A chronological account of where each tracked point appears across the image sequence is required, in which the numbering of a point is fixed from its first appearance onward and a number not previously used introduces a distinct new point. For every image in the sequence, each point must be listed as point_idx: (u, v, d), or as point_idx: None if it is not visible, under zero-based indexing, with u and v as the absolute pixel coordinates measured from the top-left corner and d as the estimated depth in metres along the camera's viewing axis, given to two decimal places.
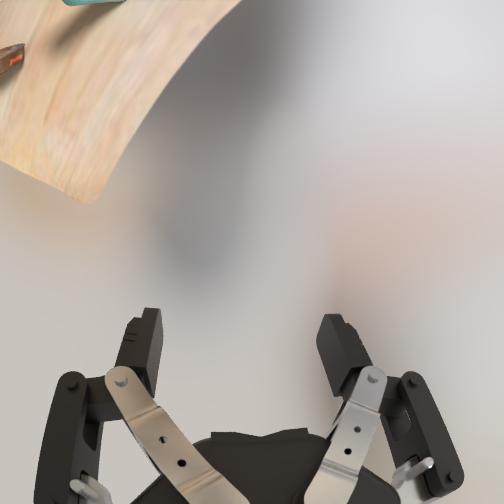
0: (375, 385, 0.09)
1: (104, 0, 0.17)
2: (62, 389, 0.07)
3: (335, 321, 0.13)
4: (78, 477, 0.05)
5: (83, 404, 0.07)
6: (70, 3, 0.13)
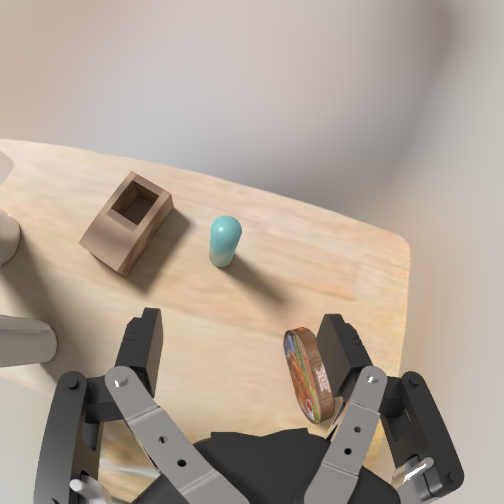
0: (375, 385, 0.09)
1: None
2: (62, 389, 0.07)
3: (335, 321, 0.13)
4: (78, 477, 0.05)
5: (83, 404, 0.07)
6: (239, 231, 0.34)
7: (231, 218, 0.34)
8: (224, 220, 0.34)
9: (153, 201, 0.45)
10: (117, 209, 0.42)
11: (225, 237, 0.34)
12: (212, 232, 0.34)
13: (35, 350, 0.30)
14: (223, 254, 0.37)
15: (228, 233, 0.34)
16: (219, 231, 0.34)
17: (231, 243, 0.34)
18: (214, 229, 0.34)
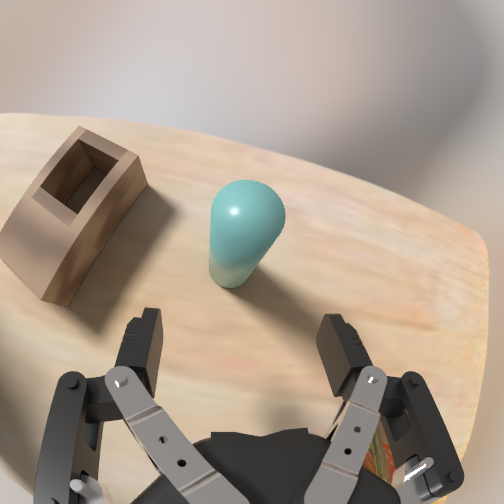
0: (375, 385, 0.09)
1: None
2: (62, 389, 0.07)
3: (335, 321, 0.13)
4: (78, 477, 0.05)
5: (83, 404, 0.07)
6: (280, 216, 0.14)
7: (259, 185, 0.14)
8: (243, 190, 0.14)
9: None
10: (54, 190, 0.22)
11: (247, 230, 0.14)
12: (214, 218, 0.13)
13: None
14: (238, 268, 0.17)
15: (254, 220, 0.14)
16: (232, 215, 0.14)
17: (262, 244, 0.14)
18: (219, 209, 0.14)
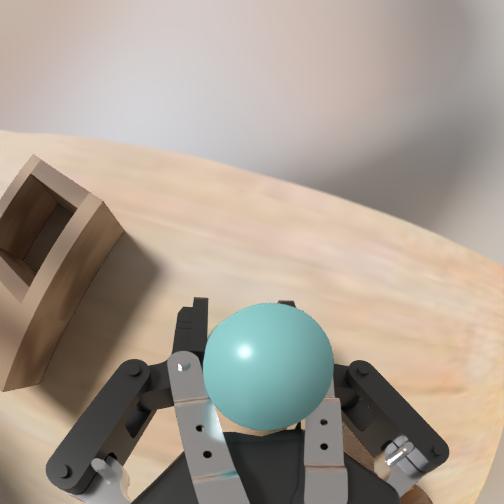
0: None
1: None
2: (121, 373, 0.09)
3: None
4: (104, 457, 0.06)
5: (138, 394, 0.08)
6: (326, 369, 0.07)
7: (291, 313, 0.08)
8: (261, 325, 0.07)
9: None
10: (9, 240, 0.15)
11: (268, 401, 0.07)
12: (210, 383, 0.07)
13: None
14: None
15: (280, 383, 0.07)
16: (241, 377, 0.07)
17: (293, 421, 0.07)
18: (218, 367, 0.07)
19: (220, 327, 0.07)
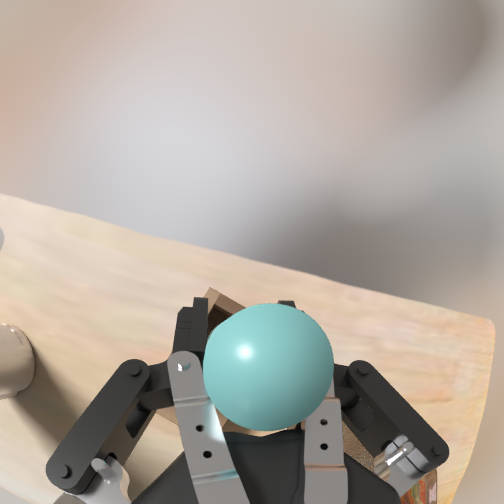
0: None
1: None
2: (121, 373, 0.09)
3: None
4: (104, 457, 0.06)
5: (138, 394, 0.08)
6: (326, 370, 0.07)
7: (291, 314, 0.08)
8: (261, 325, 0.07)
9: None
10: None
11: (268, 402, 0.07)
12: (210, 384, 0.07)
13: None
14: None
15: (280, 383, 0.07)
16: (241, 378, 0.07)
17: (293, 421, 0.07)
18: (218, 368, 0.07)
19: (220, 328, 0.07)
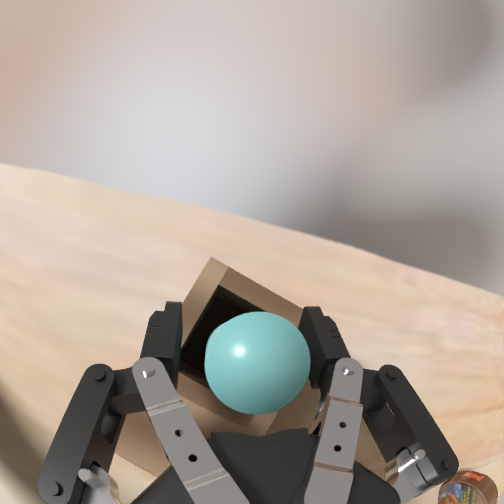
0: (350, 377, 0.10)
1: None
2: (88, 380, 0.08)
3: (313, 313, 0.13)
4: (88, 467, 0.06)
5: (107, 397, 0.08)
6: (304, 365, 0.09)
7: (275, 320, 0.10)
8: (251, 329, 0.09)
9: None
10: None
11: (256, 390, 0.09)
12: (210, 375, 0.09)
13: None
14: None
15: (266, 375, 0.09)
16: (235, 371, 0.09)
17: (277, 407, 0.09)
18: (216, 363, 0.09)
19: (218, 331, 0.09)
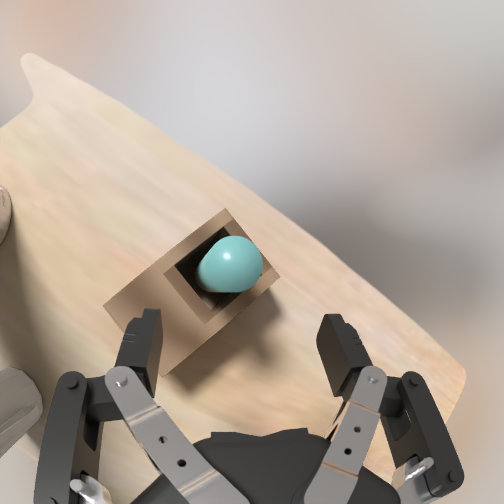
0: (375, 385, 0.09)
1: None
2: (62, 389, 0.07)
3: (335, 321, 0.13)
4: (78, 477, 0.05)
5: (83, 404, 0.07)
6: (256, 274, 0.19)
7: (251, 245, 0.19)
8: (238, 244, 0.19)
9: None
10: (180, 261, 0.26)
11: (229, 276, 0.18)
12: (209, 259, 0.18)
13: (17, 437, 0.15)
14: (215, 290, 0.22)
15: (236, 271, 0.18)
16: (222, 261, 0.18)
17: (235, 290, 0.18)
18: (215, 254, 0.18)
19: (222, 239, 0.18)
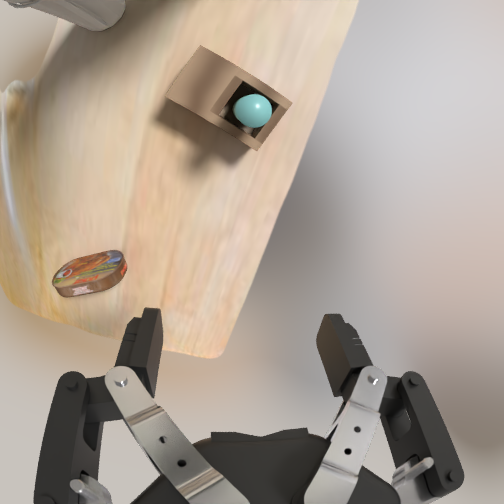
0: (375, 385, 0.09)
1: None
2: (62, 389, 0.07)
3: (335, 321, 0.13)
4: (78, 477, 0.05)
5: (83, 404, 0.07)
6: (251, 125, 0.28)
7: (268, 117, 0.27)
8: (266, 109, 0.27)
9: None
10: (247, 84, 0.33)
11: (245, 109, 0.27)
12: (252, 95, 0.26)
13: (77, 22, 0.21)
14: None
15: (250, 112, 0.27)
16: (252, 103, 0.26)
17: (238, 115, 0.27)
18: (256, 98, 0.26)
19: (266, 99, 0.26)
